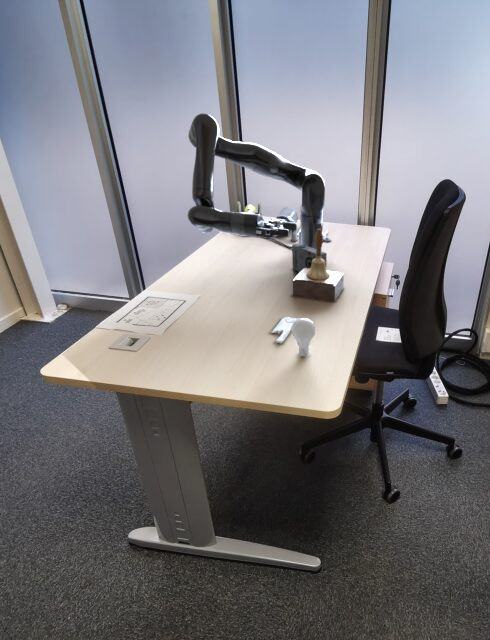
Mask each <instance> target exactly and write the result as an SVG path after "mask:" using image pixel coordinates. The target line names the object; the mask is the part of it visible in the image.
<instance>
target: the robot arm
mask: <svg viewBox="0 0 490 640" xmlns="http://www.w3.org/2000/svg"><path fill="white" fill-rule="evenodd" d="M187 136H188V140H189V142H190V144H191V145H192V146H193V147H194V148H195V157H194V166H193V171H192V182H191V185H192V186H191V194H192V195H191V197H192V201H193V202H194V206H191V207H190V209H189V210H188V211H187V219H188V221H189V223H190V224H191V225H192V226H193V227H195V228H196V229H197V230H198V231H199V232H200V233H203V234H210V233H212V232H213V231H215V230H216V231H218V232H220V233H223V234H231V235H237V236H242V237H250V238H257V239H259V238H261V237H262V238H264V239H268V240H271V241H273V242H275V243H277V244H279V245H282V246H284V247H285V248H287V249H292V246H290V245H288V244H285V243H284V242H281V241H279V240H277V239H275V238H274V237H285V238H287V237H289V236H290V233H289V230H288V229H290V230H296V229H298V224H297V223H298V222H296V223H292V222H286V220H285V219H275V218H273V217H270V218H269V219H266V220H265V219H264V218H263V216H262V215H260V214H253V213H243V212H244V211H241V212H237V211H236V212H235V211H228V210H227V211H224V210H220V209H217V208H216V206H215V203H214V190H215V189H214V185H215V180H214V179H215V178H214V177H215V157H218V158H221V159H223V160H226V161H229V162H231V163H233V164H236V165H238V166H240V167H243V168H245V169H248V170H249V171H251V172H253V173H256V174H257V175H261V176H263V177H265V178H269V179H273V180H276V181H281V182H284V183H286V184H288V185H291V186H292V187H294V188H296V189H298V190H299V191H301V205H300V207H299V215H300V218H299V219H300V221H299V222H300V228H301V231H300V232H299V231H298V232H299V236H298V244H299V243H300V244H302V245H305V246H308V247H311V248H314V249H316V250H317V248H316V243H315V236H316V232H317V229H321V231H322V235H323V234H324V233H323V231H324V230H323V228H324V227H323V225H324V224H323V223H324V222H323V221H324V208H325V202H326V201H325V198H326V184H325V183H326V182H325V180H324V177H322V175H321V174H319V173H318V172H317V171H315V170H312V169H309V168H306V167H303V166H300V165H297V164H295V163H292V162H290V161H289V160H287V159H285V158H283V157H282V156H281V155H279V154H277V153H276V152H275V151H272V150H270V149H268V148H266V147H264V146H262V145H260V144H257V143H255V142H254V143H253V142H242V141H232V140H230V139H227V138H224V137H223V136H220V127H219V124H218V122H217V120H216V119H215V118H214V117H213V116H211V115H210V114H208V113H206V112H205V113H198V114H197V115H196V116H194V118H193V119H192V121H191V125H190V127H189V130H188V135H187ZM281 223H283V225H280V224H281ZM321 251H322V252H323V245H322V246H321Z"/></svg>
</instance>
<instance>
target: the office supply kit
mask: <svg viewBox="0 0 490 640" xmlns="http://www.w3.org/2000/svg"><path fill="white" fill-rule="evenodd" d="M274 219H285V220H286V222H292V223H298V219H299V216H298V212H297V211H296V209H295V208H293V207H291V206H287V207H283V209H282V210H281V211H280V212H279V213H278V214H277V216H276V217H275V218H274ZM280 225H283V223H281V224H280ZM297 229H298V228H297ZM297 229H296V230H290V229H288V230H289V234H290V233H291V242H296V241H297V240H298V237H299V232H300V231H301V227H300V229H299V230H297ZM328 232H329V231H328V230H326V231H324V233H323V234H322V235H323V242H327V243H329V242H330V241H331V238H330V237H327V234H328ZM297 236H298V237H297Z"/></svg>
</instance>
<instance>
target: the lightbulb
mask: <svg viewBox="0 0 490 640" xmlns="http://www.w3.org/2000/svg"><path fill="white" fill-rule="evenodd" d="M296 319H297V320H296V321H295V322H294V323H293V325H292V328H291V331H290V332H291V336H292V337H293V339H294V340H295V341H296V343H297V347H298V355H299V356H301V357H306V356H308V355H309V351H310V350H309V349H310V348H309V346H310V345H311V341H312V340H313V338H314V337H315V335H316V326H315V324H314V322H313V321H312V320H311V319H309V318H307V317H299V318H296Z"/></svg>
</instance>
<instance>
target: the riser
mask: <svg viewBox="0 0 490 640" xmlns="http://www.w3.org/2000/svg"><path fill="white" fill-rule="evenodd" d="M309 270H310V268H303V270H302V271H301V272H298V274H296V276H294V278H293V279H292V297H294V298H302V299H309V300H310V299H311V300H316V301H325V302H330V303H335V302H336V301H337V299H338V297H339V296H340V294H341V292H342V291H343V289H344V277H345V273H343V272H340V271H333V270H327V272H328V273H329V274H330V277H329V278H327V279H323V280H316V279H311V278H309V277H307V276H306V274H307V272H308V271H309Z"/></svg>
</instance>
